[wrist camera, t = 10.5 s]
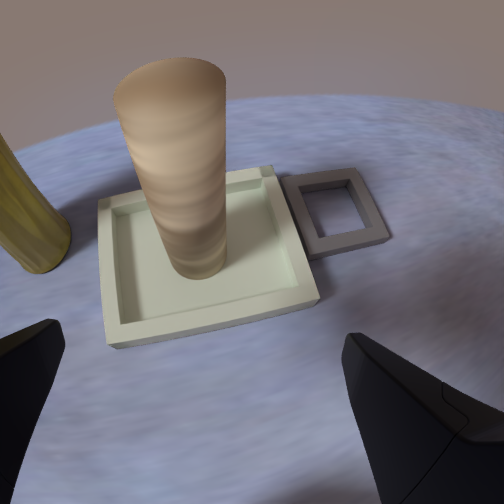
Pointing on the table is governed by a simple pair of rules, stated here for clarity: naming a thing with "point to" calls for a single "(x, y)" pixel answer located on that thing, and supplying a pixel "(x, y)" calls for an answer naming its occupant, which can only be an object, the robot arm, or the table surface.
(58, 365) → the robot arm
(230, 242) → the tray
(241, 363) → the table surface
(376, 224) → the holder
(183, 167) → the dowel
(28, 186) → the vase
